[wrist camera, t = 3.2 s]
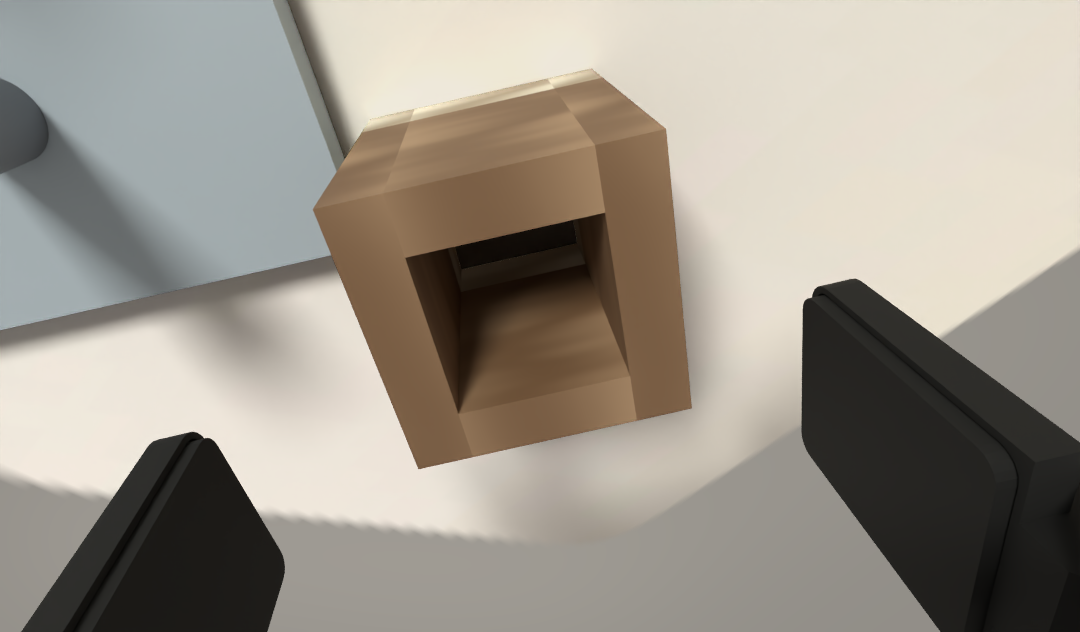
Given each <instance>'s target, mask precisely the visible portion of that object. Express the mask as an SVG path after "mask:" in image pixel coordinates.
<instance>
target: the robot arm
mask: <svg viewBox="0 0 1080 632" xmlns="http://www.w3.org/2000/svg"><path fill="white" fill-rule="evenodd" d="M802 438H803V442H804V445H805V447H806V450H807V452H808V453H809V455H810V456H811V458H812V459H813V460H814V462H815V463H816V465H817V466H818V467H819V469H820V470H821V471H822V473H823V474H824V475H825V477H826V478H827V479H828V481H829V482H830V483H831V485H832V486H833V487H834V489H835V490H836V491H837V493H838V494H839V495H840V497H841V498H842V500H843V501H844V502H845V504H846V505H847V506H848V508H849V509H850V510H851V512H852V513H853V514H854V516H855V517H856V518H857V520H858V521H859V522H860V524H861V525H862V526H863V528H864V529H865V530H866V532H867V533H868V535H869V536H870V537H871V539H872V540H873V541H874V543H875V544H876V545H877V547H878V548H879V549H880V551H881V552H882V553H883V555H884V556H885V557H886V559H887V560H888V561H889V563H890V564H891V565H892V567H893V568H894V570H895V571H896V572H897V574H898V575H899V576H900V578H901V579H902V580H903V582H904V583H905V584H906V586H907V587H908V589H909V590H910V591H911V592H912V594H913V595H914V597H915V598H916V599H917V601H918V602H919V603H920V605H921V606H922V607H923V609H924V610H925V611H926V613H927V614H928V615H929V617H930V618H931V619H932V621H933V622H934V624H935V625H936V626H937V628H938V629H939V630H940V632H1080V442H1078V441H1077V440H1076V439H1074V438H1073V437H1072V436H1070V435H1069V434H1067V433H1066V432H1065V431H1064V430H1062V429H1061V428H1059V427H1058V426H1057V425H1055V424H1054V423H1053V422H1051V421H1050V420H1049V419H1047V418H1046V417H1044V416H1043V415H1042V414H1040V413H1039V412H1038V411H1036V410H1035V409H1034V408H1032V407H1031V406H1030V405H1028V404H1027V403H1025V402H1024V401H1023V400H1021V399H1020V398H1019V397H1017V396H1016V395H1015V394H1013V393H1012V392H1010V391H1009V390H1008V389H1007V388H1005V387H1004V386H1002V385H1001V384H1000V383H998V382H997V381H996V380H994V379H993V378H991V377H990V376H989V375H988V374H986V373H985V372H983V371H982V370H981V369H979V368H978V367H977V366H975V365H974V364H973V363H971V362H970V361H969V360H967V359H966V358H965V357H963V356H962V355H960V354H959V353H958V352H956V351H955V350H953V349H952V348H951V347H949V346H948V345H947V344H946V343H944V342H943V341H941V340H940V339H939V338H937V337H936V336H935V335H933V334H932V333H931V332H929V331H928V330H927V329H925V328H924V327H922V326H921V325H920V324H918V323H917V322H916V321H914V320H913V319H912V318H910V317H909V316H908V315H906V314H905V313H903V312H902V311H901V310H899V309H898V308H897V307H895V306H894V305H893V304H891V303H890V302H889V301H887V300H886V299H884V298H883V297H882V296H880V295H879V294H878V293H876V292H875V291H874V290H872V289H871V288H870V287H868V286H867V285H866V284H864V283H863V282H861V281H860V280H858V279H849V280H845V281H841V282H836V283H832V284H828V285H823V286H819V287H817V288H816V289H815V290H814V292H813V295H812V298H809V299H806V300H805V302H804V304H803V341H802ZM284 573H285V565H284V559H283V555H282V553H281V551H280V549H279V548H278V546H277V545H276V543H275V541H274V539H273V538H272V536H271V534H270V533H269V531H268V529H267V528H266V526H265V524H264V523H263V521H262V519H261V518H260V516H259V514H258V512H257V511H256V509H255V507H254V506H253V504H252V502H251V501H250V499H249V497H248V496H247V494H246V492H245V491H244V489H243V487H242V486H241V484H240V482H239V481H238V479H237V477H236V476H235V474H234V472H233V471H232V469H231V467H230V466H229V464H228V462H227V461H226V459H225V457H224V456H223V454H222V452H221V451H220V449H219V447H218V446H217V444H216V443H215V442H214V441H213V440H212V439H210V438H205V439H204V438H203V437H202V436H201V435H200V434H198V433H196V432H189V433H185V434H181V435H176V436H172V437H168V438H163V439H159V440H156V441H153V442H152V443H151V444H150V445H149V446H148V447H147V449H146V450H145V452H144V453H143V455H142V456H141V458H140V459H139V461H138V462H137V463H136V465H135V466H134V468H133V469H132V471H131V472H130V474H129V475H128V477H127V478H126V480H125V481H124V482H123V484H122V485H121V487H120V488H119V490H118V491H117V493H116V494H115V496H114V497H113V499H112V500H111V501H110V503H109V505H108V506H107V507H106V509H105V510H104V512H103V513H102V515H101V516H100V518H99V519H98V520H97V522H96V523H95V525H94V526H93V528H92V529H91V531H90V532H89V534H88V535H87V537H86V538H85V539H84V541H83V542H82V544H81V545H80V547H79V548H78V550H77V551H76V553H75V554H74V556H73V557H72V558H71V560H70V561H69V563H68V564H67V566H66V567H65V569H64V570H63V572H62V573H61V575H60V576H59V578H58V579H57V580H56V582H55V583H54V585H53V586H52V588H51V589H50V591H49V592H48V594H47V595H46V596H45V598H44V600H43V601H42V602H41V604H40V605H39V607H38V608H37V610H36V611H35V613H34V614H33V616H32V617H31V619H30V620H29V621H28V623H27V624H26V626H25V627H24V629H23V630H22V632H267V631H268V627H269V624H270V621H271V617H272V614H273V611H274V608H275V605H276V601H277V598H278V595H279V591H280V588H281V585H282V581H283V578H284Z"/></svg>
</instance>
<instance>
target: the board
mask: <svg viewBox="0 0 1080 632" xmlns="http://www.w3.org/2000/svg"><path fill="white" fill-rule="evenodd" d="M344 160H345V158H344V155H343V152H342V150H341V147H340V144H339V141H338V139H337V136H336V133H335V130H334V128H333V125H332V122H331V119H330V117H329V114H328V111H327V108H326V106H325V103H324V100H323V97H322V95H321V92H320V89H319V86H318V84H317V81H316V78H315V75H314V73H313V70H312V67H311V64H310V62H309V59H308V56H307V53H306V51H305V48H304V45H303V42H302V40H301V37H300V34H299V31H298V29H297V26H296V23H295V20H294V18H293V15H292V12H291V9H290V7H289V4H288V1H287V0H0V330H4V329H8V328H12V327H17V326H21V325H26V324H30V323H34V322H39V321H43V320H48V319H52V318H57V317H61V316H65V315H70V314H74V313H79V312H83V311H87V310H92V309H96V308H101V307H105V306H110V305H114V304H118V303H123V302H127V301H132V300H136V299H140V298H145V297H149V296H154V295H158V294H163V293H167V292H171V291H176V290H180V289H185V288H189V287H193V286H198V285H202V284H207V283H211V282H216V281H220V280H224V279H229V278H233V277H238V276H242V275H246V274H251V273H255V272H260V271H264V270H269V269H273V268H277V267H282V266H286V265H291V264H295V263H299V262H304V261H308V260H313V259H317V258H322V257H326V256H330V255H331V253H330V251H329V248H328V246H327V244H326V241H325V239H324V236H323V234H322V231H321V229H320V226H319V224H318V221H317V219H316V217H315V214H314V212H313V208H314V206H315V205H316V203H317V202H318V200H319V199H320V197H321V195H322V194H323V192H324V191H325V189H326V188H327V186H328V185H329V183H330V181H331V180H332V178H333V177H334V175H335V174H336V172H337V170H338V169H339V167H340V166H341V164H342V163H343V161H344Z"/></svg>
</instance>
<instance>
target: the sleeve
mask: <svg viewBox="0 0 1080 632" xmlns="http://www.w3.org/2000/svg"><path fill="white" fill-rule="evenodd" d="M313 212H314V214H315V217H316V219H317V221H318V224H319V226H320V229H321V231H322V234H323V236H324V239H325V241H326V244H327V246H328V248H329V251H330V253H331V256H332V258H333V261H334V263H335V266H336V268H337V270H338V273H339V275H340V278H341V280H342V283H343V285H344V288H345V290H346V293H347V295H348V297H349V300H350V302H351V305H352V307H353V310H354V312H355V315H356V317H357V319H358V322H359V324H360V327H361V329H362V332H363V334H364V337H365V339H366V342H367V344H368V346H369V349H370V351H371V354H372V356H373V359H374V361H375V364H376V366H377V368H378V371H379V373H380V376H381V378H382V381H383V383H384V386H385V388H386V391H387V393H388V395H389V398H390V400H391V403H392V405H393V408H394V410H395V413H396V415H397V417H398V420H399V422H400V425H401V427H402V430H403V432H404V435H405V437H406V440H407V442H408V444H409V447H410V449H411V452H412V454H413V457H414V459H415V462H416V464H417V466H418V469H422V468H426V467H431V466H435V465H440V464H444V463H449V462H453V461H458V460H462V459H467V458H471V457H475V456H480V455H484V454H489V453H493V452H498V451H502V450H507V449H511V448H516V447H520V446H525V445H529V444H534V443H538V442H543V441H547V440H552V439H556V438H561V437H565V436H570V435H574V434H579V433H583V432H588V431H592V430H597V429H601V428H606V427H610V426H615V425H619V424H624V423H628V422H633V421H637V420H642V419H646V418H651V417H655V416H659V415H664V414H668V413H673V412H677V411H682V410H686V409H691V408H692V406H691V395H690V385H689V374H688V363H687V352H686V341H685V330H684V319H683V308H682V298H681V287H680V276H679V265H678V254H677V243H676V232H675V222H674V211H673V200H672V189H671V178H670V167H669V156H668V145H667V135H666V129H665V128H664V127H663V126H662V125H660V124H659V123H658V122H657V121H655V120H654V119H653V118H652V117H651V116H649V115H648V114H647V113H646V112H644V111H643V110H642V109H641V108H639V107H638V106H637V105H636V104H635V103H633V102H632V101H631V100H630V99H628V98H627V97H626V96H625V95H623V94H622V93H621V92H620V91H619V90H617V89H616V88H615V87H614V86H612V85H611V84H610V83H609V82H607V81H606V80H605V79H604V78H603V77H601V76H600V75H599V74H598V73H596V72H595V71H594V70H593V69H589V70H584V71H580V72H575V73H571V74H567V75H562V76H558V77H554V78H549V79H545V80H540V81H536V82H532V83H527V84H523V85H519V86H514V87H510V88H505V89H501V90H497V91H492V92H488V93H484V94H479V95H475V96H470V97H466V98H462V99H457V100H453V101H449V102H444V103H440V104H435V105H431V106H427V107H422V108H418V109H413V110H409V111H405V112H400V113H396V114H392V115H387V116H383V117H378V118H374V119H370V121H369V122H368V124H367V125H366V127H365V128H364V130H363V132H362V133H361V135H360V136H359V138H358V139H357V141H356V142H355V144H354V146H353V147H352V149H351V150H350V152H349V153H348V155H347V156H346V158H345V160H344V161H343V163H342V164H341V166H340V167H339V169H338V170H337V172H336V174H335V175H334V177H333V178H332V180H331V181H330V183H329V185H328V186H327V188H326V189H325V191H324V192H323V194H322V195H321V197H320V199H319V200H318V202H317V203H316V205H315V206H314V208H313ZM570 220H573V223H574V228H575V234H576V239H577V243H576V244H571V245H567V246H562V247H558V248H554V249H549V250H545V251H540V252H536V253H531V254H527V255H523V256H518V257H514V258H509V259H505V260H500V261H496V262H492V263H487V264H483V265H478V266H474V267H469V268H465V269H461V266H460V263H459V259H458V256H457V253H456V249H455V246H460V245H464V244H468V243H473V242H477V241H482V240H486V239H491V238H495V237H499V236H504V235H508V234H513V233H517V232H521V231H526V230H530V229H535V228H539V227H544V226H548V225H552V224H557V223H561V222H566V221H570Z"/></svg>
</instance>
